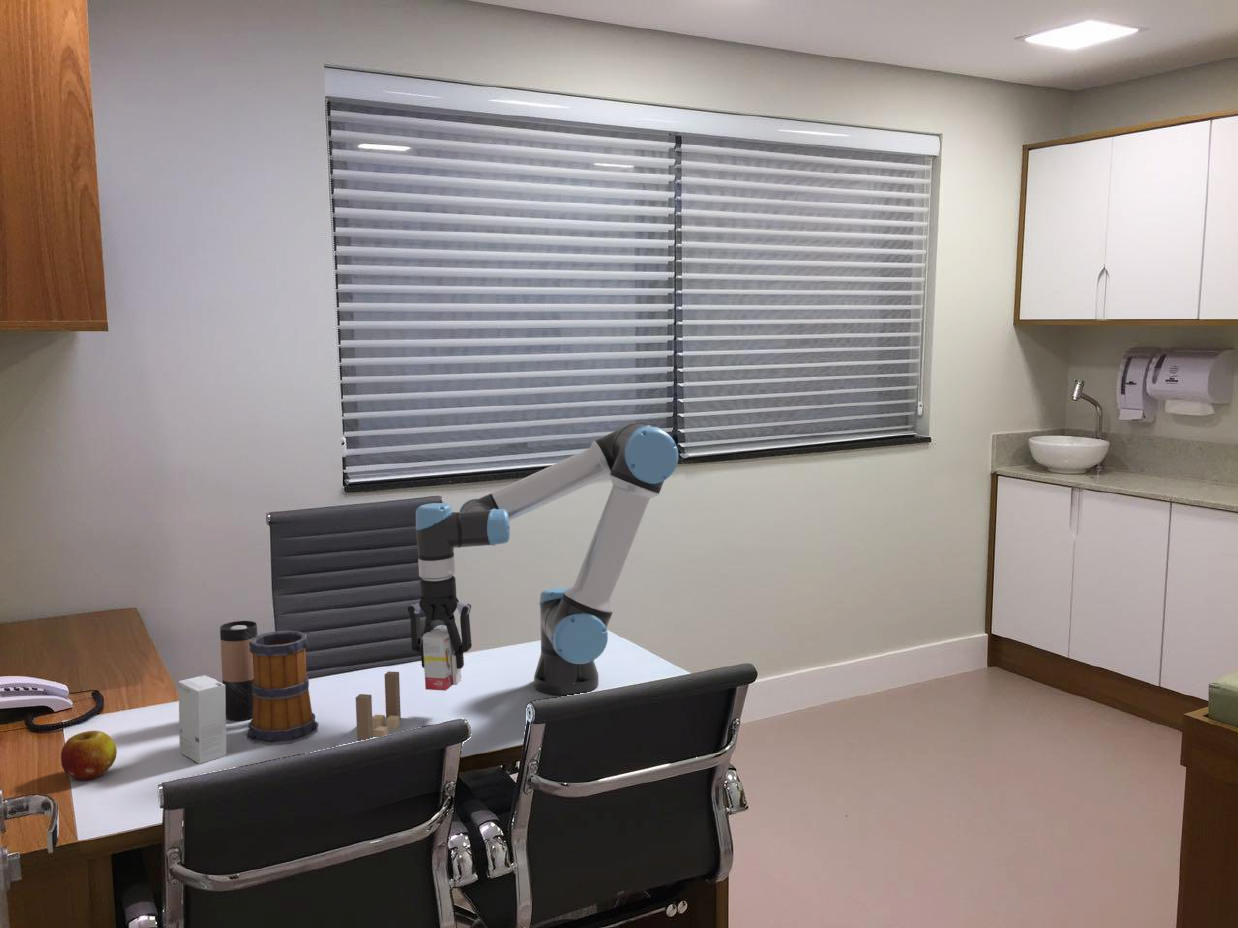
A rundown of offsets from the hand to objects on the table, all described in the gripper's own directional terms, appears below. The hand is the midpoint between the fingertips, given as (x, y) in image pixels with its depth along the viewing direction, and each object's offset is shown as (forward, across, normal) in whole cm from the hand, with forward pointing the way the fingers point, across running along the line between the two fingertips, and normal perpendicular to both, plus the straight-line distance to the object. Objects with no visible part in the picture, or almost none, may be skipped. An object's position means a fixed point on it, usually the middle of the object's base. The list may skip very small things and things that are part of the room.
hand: (443, 682), depth 219 cm
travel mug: (+6, +44, +6) cm, 45 cm away
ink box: (+1, 0, 0) cm, 1 cm away
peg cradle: (+7, +9, +14) cm, 18 cm away
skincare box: (+6, +40, +27) cm, 49 cm away
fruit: (+6, +56, +39) cm, 69 cm away
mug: (+7, +31, +11) cm, 34 cm away
